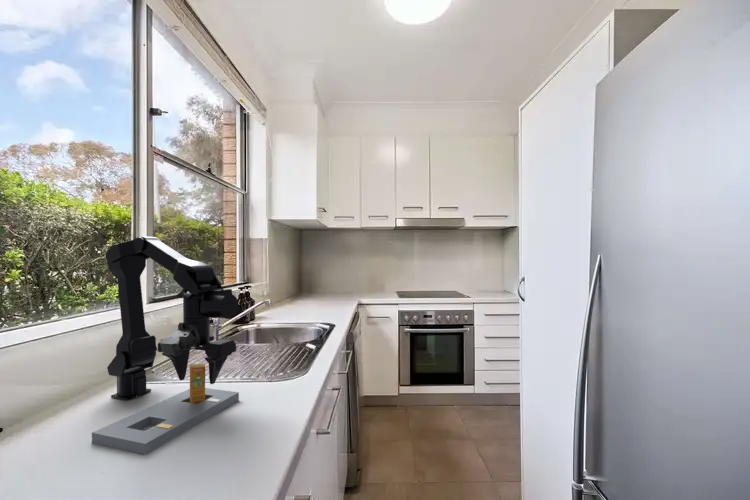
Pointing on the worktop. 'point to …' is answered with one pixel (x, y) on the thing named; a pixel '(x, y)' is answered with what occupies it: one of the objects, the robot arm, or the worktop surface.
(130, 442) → the port panel
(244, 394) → the worktop surface
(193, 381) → the supplement box
